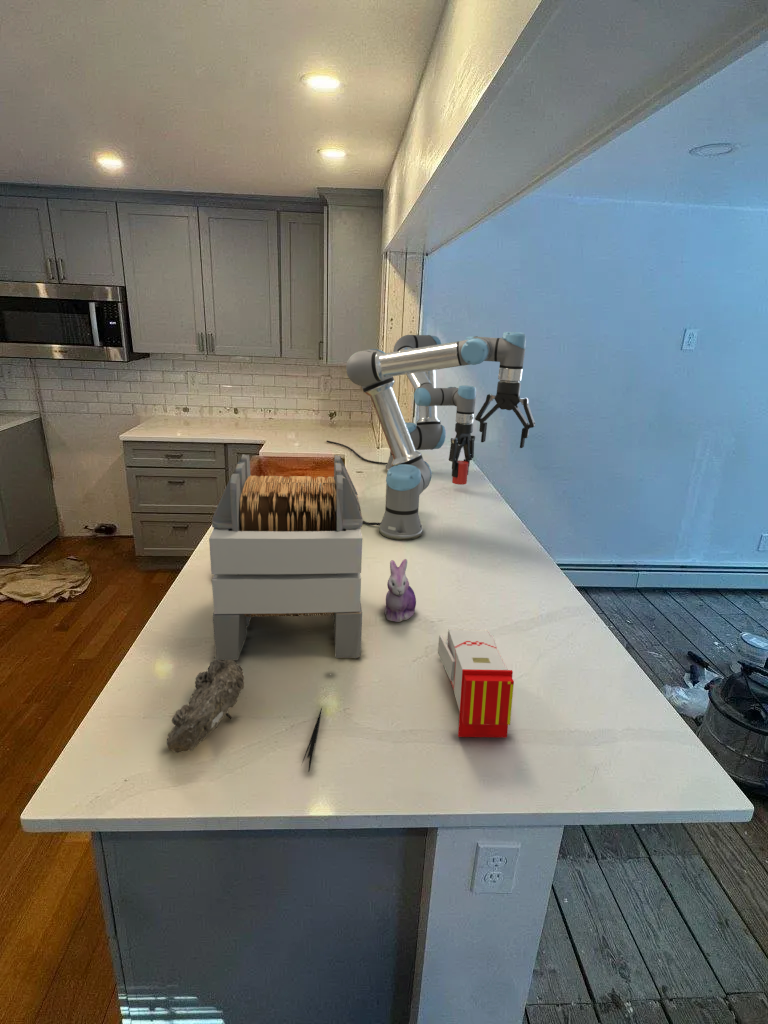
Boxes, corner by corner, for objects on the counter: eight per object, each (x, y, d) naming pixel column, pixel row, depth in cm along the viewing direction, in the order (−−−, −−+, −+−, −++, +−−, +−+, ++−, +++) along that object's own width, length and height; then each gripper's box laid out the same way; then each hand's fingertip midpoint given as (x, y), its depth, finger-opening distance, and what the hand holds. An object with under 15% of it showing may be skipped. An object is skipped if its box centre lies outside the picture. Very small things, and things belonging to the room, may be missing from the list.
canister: (451, 484, 247) (453, 463, 244) (452, 480, 253) (454, 460, 250) (466, 485, 246) (468, 464, 243) (466, 481, 252) (468, 461, 249)
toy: (488, 613, 130) (523, 677, 101) (484, 667, 133) (517, 744, 104) (435, 612, 130) (455, 676, 101) (432, 666, 133) (451, 743, 103)
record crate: (234, 590, 156) (226, 444, 142) (353, 588, 159) (357, 447, 146) (212, 662, 124) (200, 485, 110) (361, 659, 128) (367, 486, 114)
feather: (331, 679, 122) (336, 673, 122) (307, 777, 96) (313, 769, 95) (324, 675, 122) (329, 669, 121) (298, 772, 95) (304, 764, 95)
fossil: (192, 660, 117) (244, 628, 112) (224, 691, 120) (276, 661, 115) (142, 746, 98) (202, 712, 93) (182, 779, 101) (242, 748, 96)
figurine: (392, 627, 141) (395, 572, 136) (374, 608, 149) (376, 556, 144) (425, 619, 145) (429, 566, 140) (405, 601, 154) (408, 550, 149)
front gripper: (550, 383, 185) (541, 447, 192) (476, 376, 195) (471, 437, 202) (545, 386, 178) (536, 451, 186) (469, 378, 189) (463, 441, 196)
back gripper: (456, 426, 232) (451, 480, 240) (485, 422, 244) (480, 474, 252) (442, 423, 237) (438, 476, 245) (472, 419, 250) (467, 470, 257)
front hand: (502, 444), depth 194 cm, fingers open, 13 cm apart
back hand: (459, 475), depth 248 cm, fingers closed on canister, 6 cm apart
